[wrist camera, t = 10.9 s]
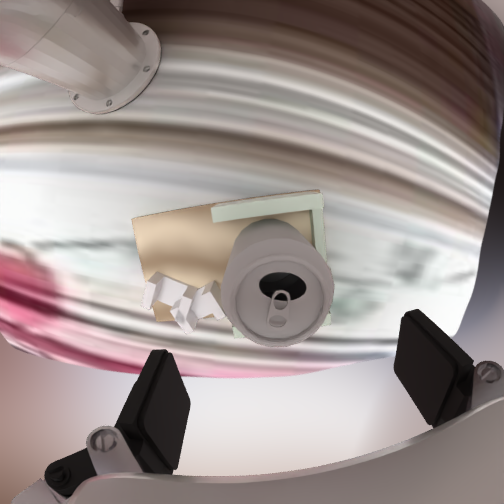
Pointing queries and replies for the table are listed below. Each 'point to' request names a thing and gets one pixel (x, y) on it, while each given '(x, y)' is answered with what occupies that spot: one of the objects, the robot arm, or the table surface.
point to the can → (276, 285)
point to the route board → (196, 244)
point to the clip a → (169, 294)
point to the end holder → (276, 206)
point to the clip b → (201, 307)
